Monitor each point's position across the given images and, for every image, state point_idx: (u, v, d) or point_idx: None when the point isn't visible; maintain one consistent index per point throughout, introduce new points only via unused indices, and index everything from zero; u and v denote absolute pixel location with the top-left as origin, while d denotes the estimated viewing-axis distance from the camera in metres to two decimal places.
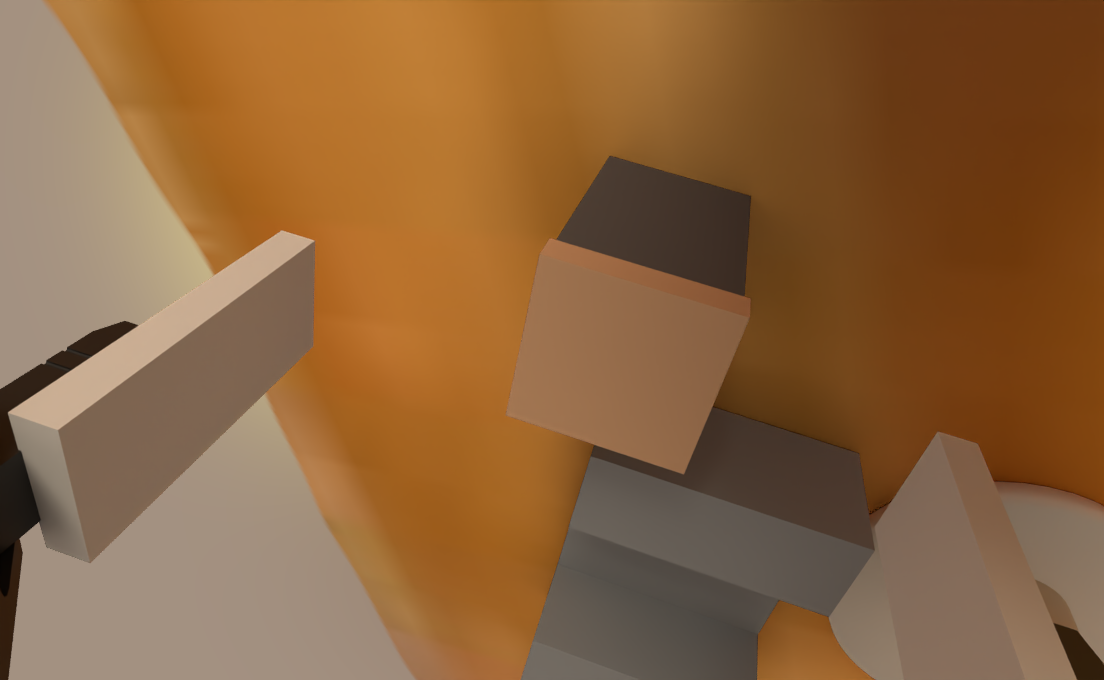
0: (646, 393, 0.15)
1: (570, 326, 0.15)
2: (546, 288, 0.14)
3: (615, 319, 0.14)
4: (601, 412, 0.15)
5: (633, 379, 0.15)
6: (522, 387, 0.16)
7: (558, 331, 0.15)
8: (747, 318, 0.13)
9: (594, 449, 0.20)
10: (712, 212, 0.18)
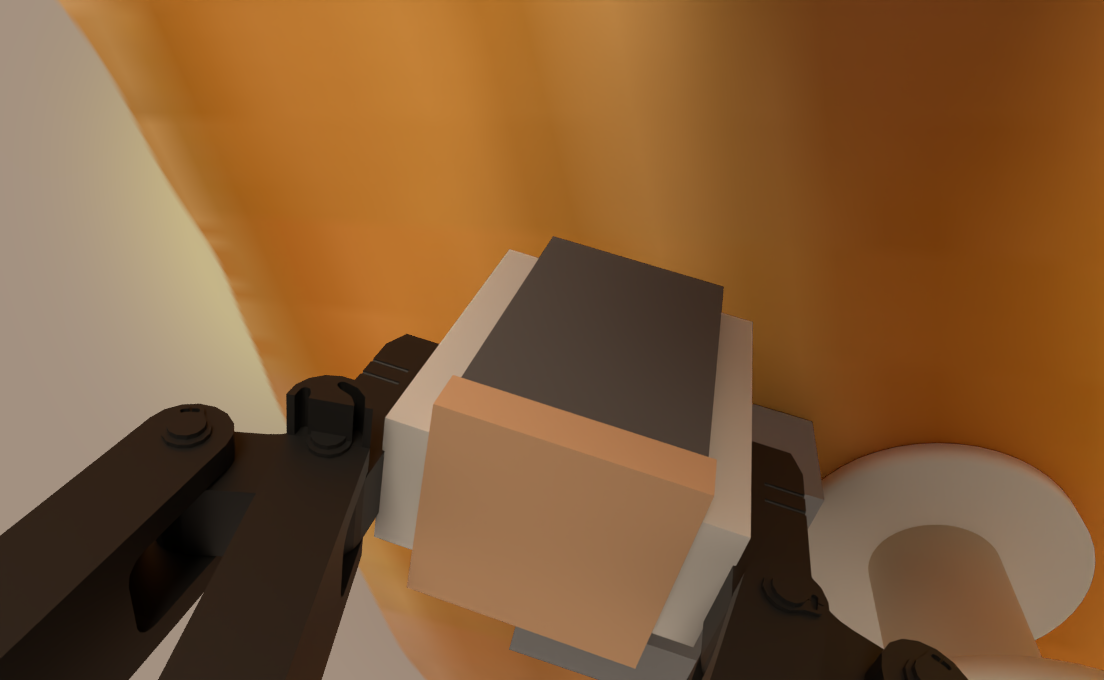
0: (582, 574, 0.11)
1: (479, 492, 0.11)
2: (445, 445, 0.11)
3: (537, 487, 0.11)
4: (526, 592, 0.12)
5: (564, 557, 0.11)
6: (424, 557, 0.12)
7: (464, 496, 0.11)
8: (710, 496, 0.10)
9: None
10: (674, 316, 0.14)
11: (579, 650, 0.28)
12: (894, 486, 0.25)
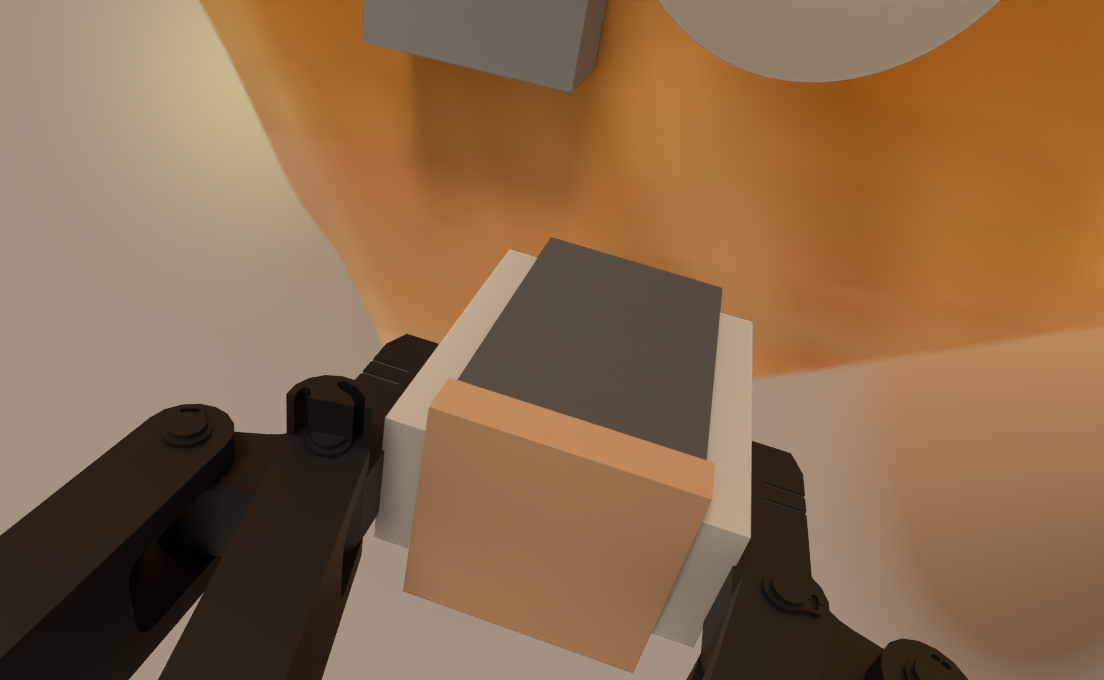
0: (579, 578, 0.11)
1: (476, 495, 0.11)
2: (441, 449, 0.11)
3: (534, 490, 0.11)
4: (523, 596, 0.12)
5: (562, 561, 0.11)
6: (421, 561, 0.12)
7: (461, 500, 0.11)
8: (709, 500, 0.10)
9: None
10: (672, 317, 0.14)
11: (432, 18, 0.25)
12: None
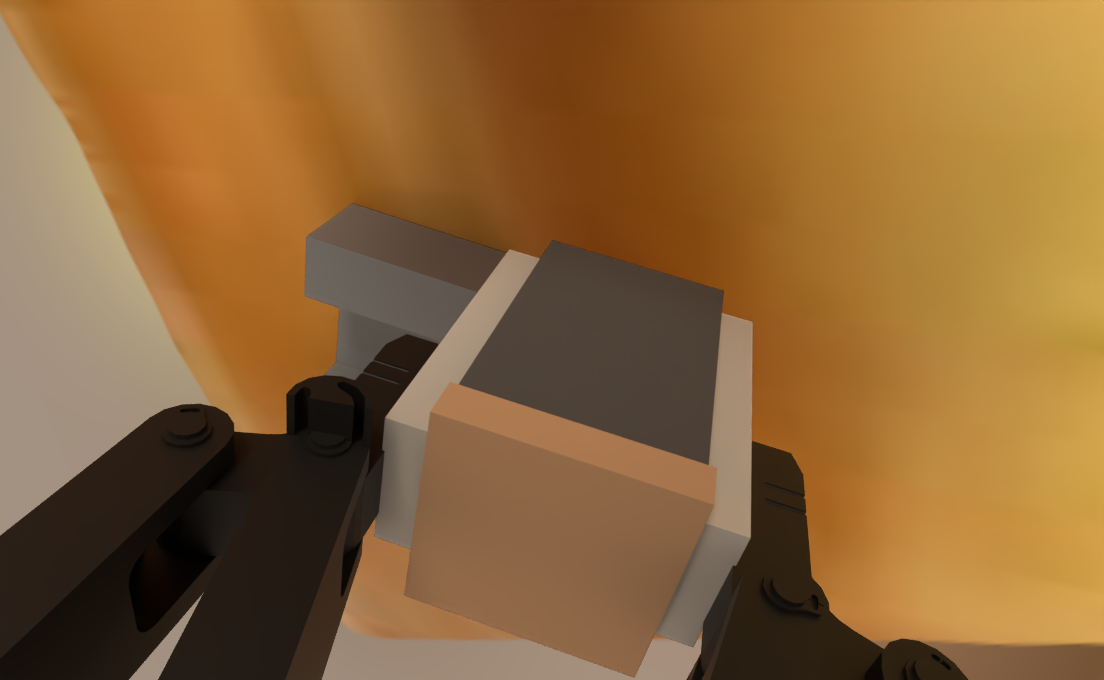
0: (581, 583, 0.11)
1: (477, 500, 0.11)
2: (442, 453, 0.11)
3: (535, 495, 0.11)
4: (524, 600, 0.12)
5: (563, 566, 0.11)
6: (422, 565, 0.12)
7: (462, 504, 0.11)
8: (710, 505, 0.10)
9: (311, 233, 0.30)
10: (674, 320, 0.14)
11: None
12: None
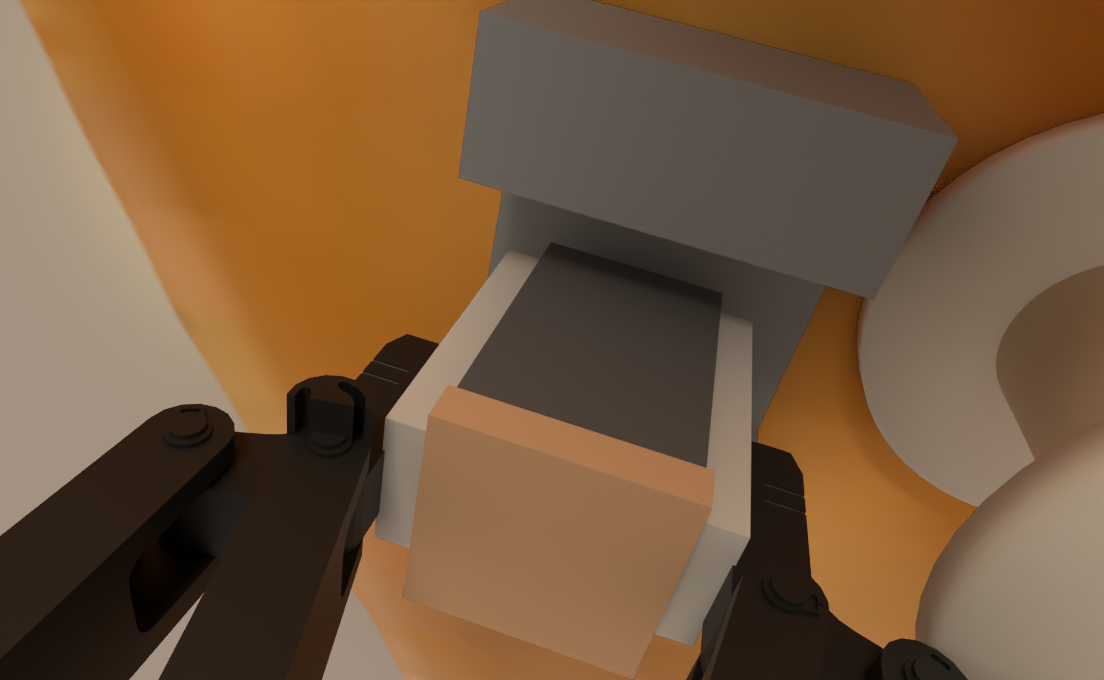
0: (579, 586, 0.11)
1: (475, 502, 0.11)
2: (441, 456, 0.11)
3: (533, 498, 0.11)
4: (523, 603, 0.12)
5: (561, 569, 0.11)
6: (420, 568, 0.12)
7: (460, 507, 0.11)
8: (708, 508, 0.10)
9: (488, 9, 0.12)
10: (673, 323, 0.14)
11: None
12: (1062, 185, 0.14)
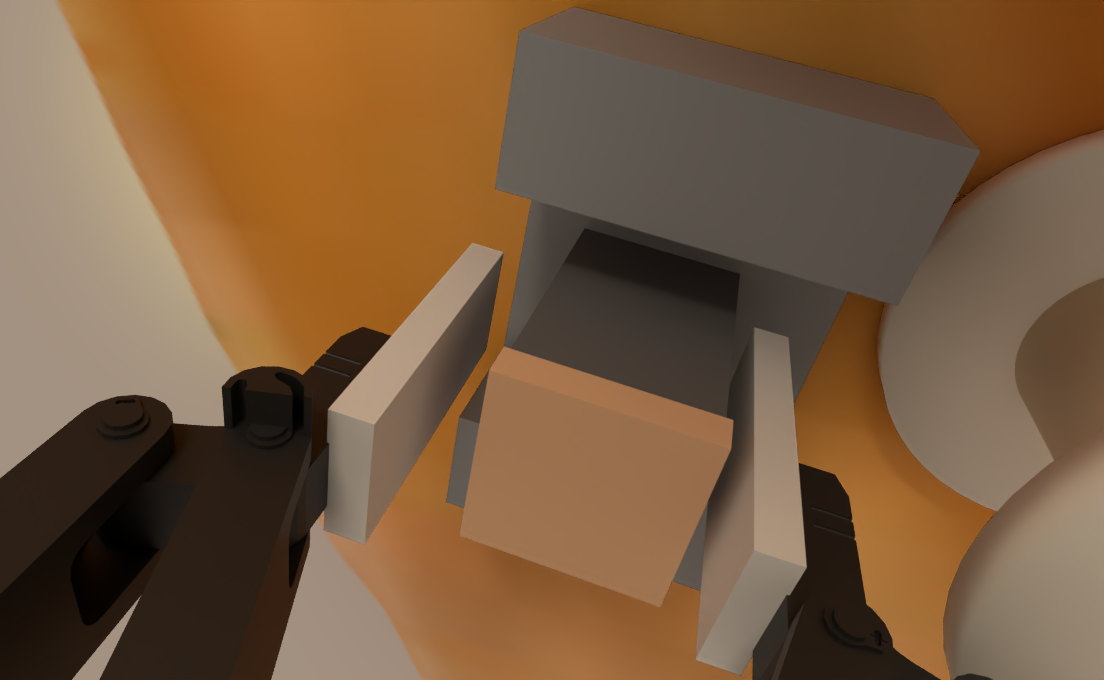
0: (615, 521, 0.13)
1: (527, 447, 0.13)
2: (498, 407, 0.12)
3: (577, 442, 0.12)
4: (565, 538, 0.14)
5: (600, 506, 0.13)
6: (476, 508, 0.14)
7: (514, 452, 0.13)
8: (728, 449, 0.12)
9: (526, 28, 0.13)
10: (695, 299, 0.16)
11: None
12: (1079, 196, 0.14)
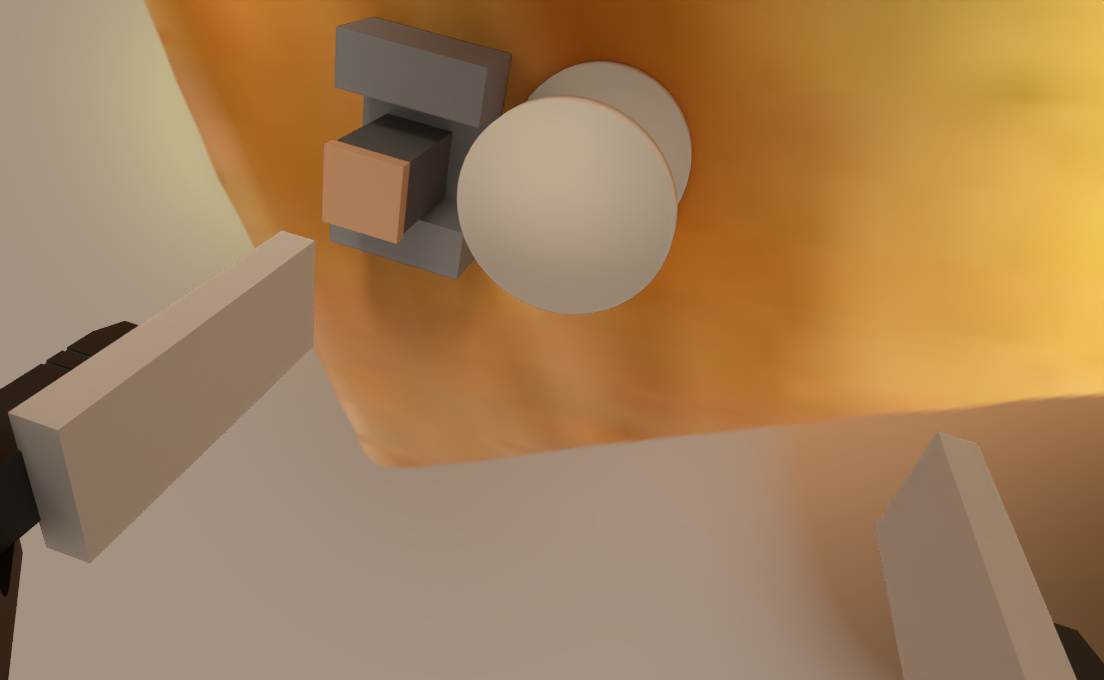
0: (374, 204, 0.36)
1: (340, 175, 0.36)
2: (329, 158, 0.35)
3: (356, 171, 0.35)
4: (359, 215, 0.37)
5: (368, 198, 0.36)
6: (326, 206, 0.37)
7: (336, 178, 0.36)
8: (402, 167, 0.35)
9: (340, 25, 0.36)
10: (423, 136, 0.39)
11: None
12: (560, 91, 0.37)
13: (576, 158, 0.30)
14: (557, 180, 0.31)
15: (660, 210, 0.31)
